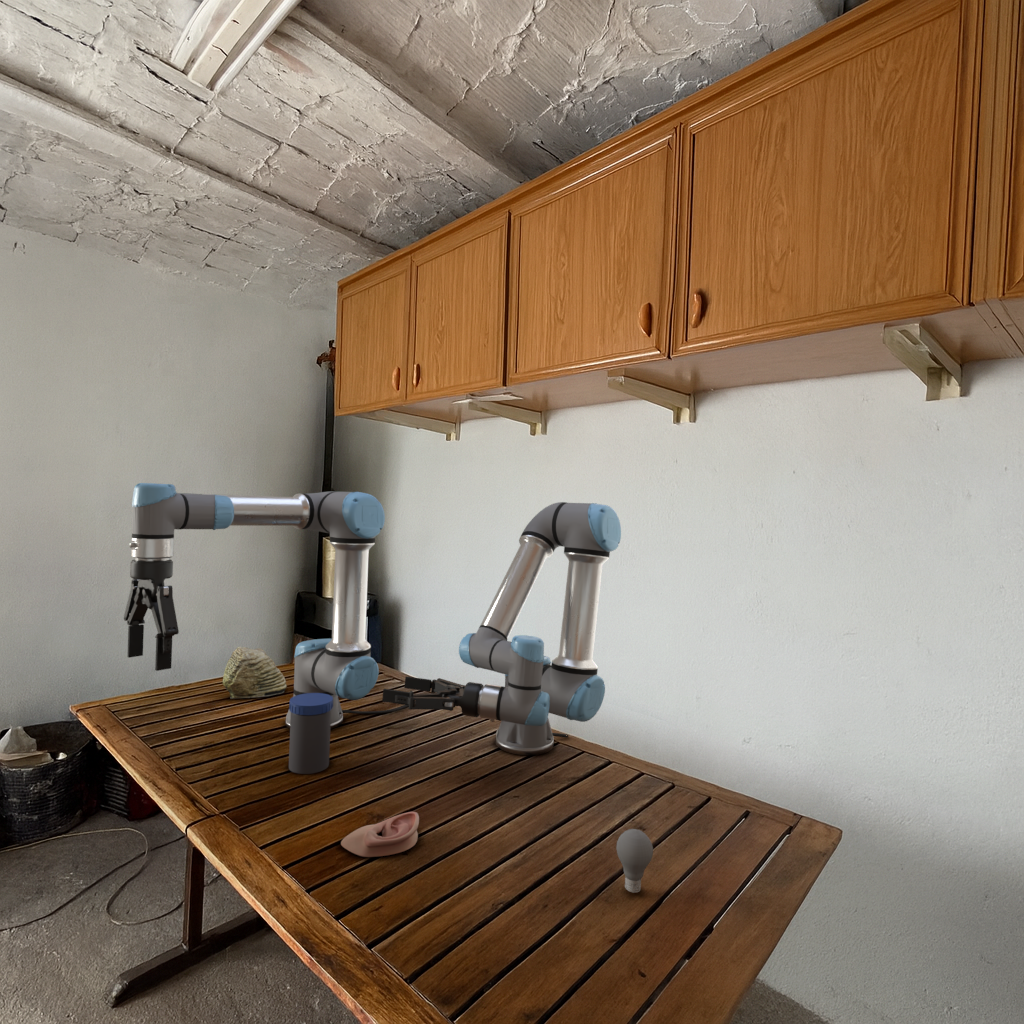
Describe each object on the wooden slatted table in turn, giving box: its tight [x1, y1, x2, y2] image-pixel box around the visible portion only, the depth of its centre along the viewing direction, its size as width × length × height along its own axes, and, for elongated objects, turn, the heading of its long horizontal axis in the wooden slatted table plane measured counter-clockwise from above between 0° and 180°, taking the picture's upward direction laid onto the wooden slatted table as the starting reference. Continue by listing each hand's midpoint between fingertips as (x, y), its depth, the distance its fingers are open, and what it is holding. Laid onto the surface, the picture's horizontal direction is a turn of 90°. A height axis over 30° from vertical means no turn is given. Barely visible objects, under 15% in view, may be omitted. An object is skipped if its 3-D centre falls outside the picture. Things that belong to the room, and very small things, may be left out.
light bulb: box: [615, 828, 654, 894], centre depth 106 cm, size 6×6×10 cm
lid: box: [288, 693, 333, 715], centre depth 148 cm, size 10×10×2 cm
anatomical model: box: [340, 811, 420, 858], centre depth 117 cm, size 13×4×12 cm
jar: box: [288, 710, 331, 775], centre depth 149 cm, size 9×9×15 cm
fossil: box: [222, 646, 288, 699], centre depth 198 cm, size 9×18×15 cm, turn 132°
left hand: (148, 662), depth 129 cm, fingers open, 13 cm apart
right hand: (394, 688), depth 150 cm, fingers open, 13 cm apart
